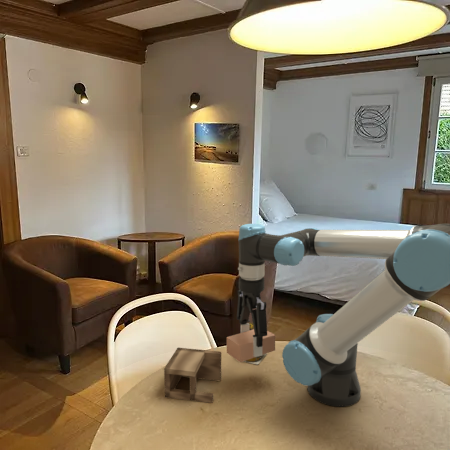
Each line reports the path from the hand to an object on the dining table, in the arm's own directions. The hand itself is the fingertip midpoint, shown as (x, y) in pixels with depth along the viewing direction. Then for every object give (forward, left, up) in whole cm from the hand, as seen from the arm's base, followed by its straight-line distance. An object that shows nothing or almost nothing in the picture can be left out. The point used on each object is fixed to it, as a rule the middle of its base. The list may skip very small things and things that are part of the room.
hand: (251, 349), depth 126 cm
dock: (+16, +6, -11) cm, 20 cm away
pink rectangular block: (0, 0, -1) cm, 1 cm away
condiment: (+1, -16, -11) cm, 20 cm away
